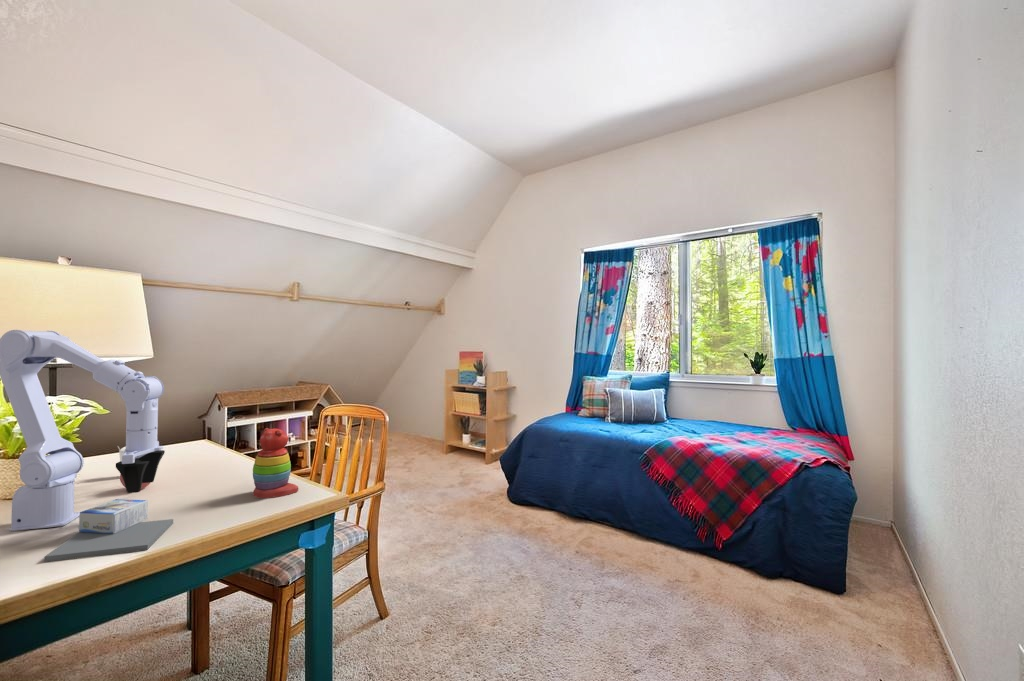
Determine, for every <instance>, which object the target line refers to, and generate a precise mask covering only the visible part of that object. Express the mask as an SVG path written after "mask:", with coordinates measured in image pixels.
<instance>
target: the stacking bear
mask: <svg viewBox="0 0 1024 681" xmlns="http://www.w3.org/2000/svg"><path fill="white" fill-rule="evenodd" d="M288 443H289V436H288V435H287V434H286V432H285V431H284V430H283V429H279V428H268V427H266V428H264V429H263V430H262V434H260V437H259V445H260V448H261V449H260V450H259V451H258V452H257V455H256V456H255V458H254V459H255V460H254V464H253V468H252V478H253V484H254V486H255V487H254V489H253V491H252V492H253V493H252V495H253V496H254V497H255V498H259V499H268V498H269V499H270V498H276V497H277V498H278V497H283V496H288V495H291V494H295V493H297V492H298V491H299V489H300V488H299V486H298V485H297V484H294V483H291V482H290V483H289V479H290V476H291V470H292V469H291V467H292V464H291V460H290V455H289V451H288V449H287V448H286V446H287V445H288Z"/></svg>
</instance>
